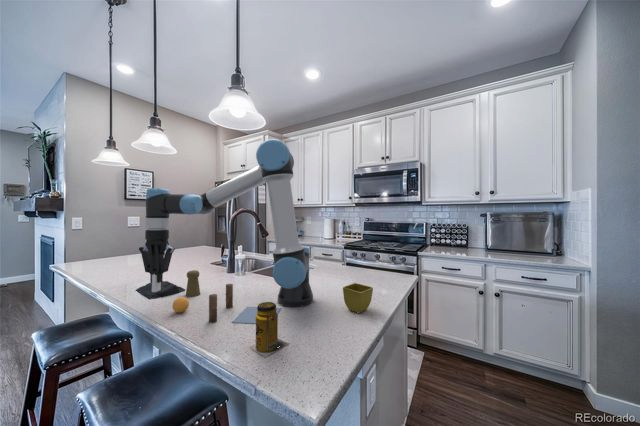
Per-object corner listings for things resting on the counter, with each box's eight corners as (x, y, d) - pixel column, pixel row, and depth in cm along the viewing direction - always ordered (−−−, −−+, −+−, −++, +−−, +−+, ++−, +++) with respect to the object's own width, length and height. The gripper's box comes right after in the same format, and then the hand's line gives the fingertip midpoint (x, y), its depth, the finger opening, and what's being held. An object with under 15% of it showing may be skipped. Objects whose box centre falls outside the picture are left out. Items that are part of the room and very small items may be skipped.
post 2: (233, 306, 99) (233, 283, 99) (230, 308, 96) (231, 285, 96) (227, 305, 99) (227, 283, 99) (224, 308, 97) (224, 285, 97)
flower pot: (373, 310, 96) (373, 287, 96) (361, 317, 89) (361, 292, 89) (354, 304, 102) (355, 282, 102) (341, 310, 95) (342, 287, 95)
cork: (194, 297, 109) (194, 272, 109) (182, 296, 110) (182, 271, 110) (203, 293, 115) (203, 269, 115) (191, 292, 116) (192, 268, 116)
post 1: (218, 319, 86) (218, 294, 86) (214, 322, 84) (214, 296, 84) (211, 319, 87) (211, 293, 87) (207, 322, 84) (207, 296, 84)
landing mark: (281, 308, 97) (281, 307, 97) (271, 324, 83) (271, 323, 83) (246, 307, 98) (246, 306, 98) (231, 322, 84) (231, 322, 84)
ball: (192, 309, 95) (192, 295, 95) (183, 315, 90) (183, 300, 90) (178, 308, 96) (178, 294, 96) (168, 314, 90) (169, 299, 90)
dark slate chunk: (167, 284, 130) (167, 275, 130) (187, 292, 117) (187, 282, 117) (132, 291, 118) (132, 281, 118) (150, 301, 105) (150, 290, 105)
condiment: (249, 347, 69) (249, 305, 69) (273, 336, 75) (273, 297, 75) (265, 357, 64) (265, 311, 64) (289, 344, 71) (289, 302, 71)
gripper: (180, 228, 97) (178, 288, 97) (148, 228, 98) (147, 287, 98) (166, 230, 89) (165, 295, 89) (133, 229, 90) (131, 293, 90)
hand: (156, 290), depth 94 cm, fingers closed
